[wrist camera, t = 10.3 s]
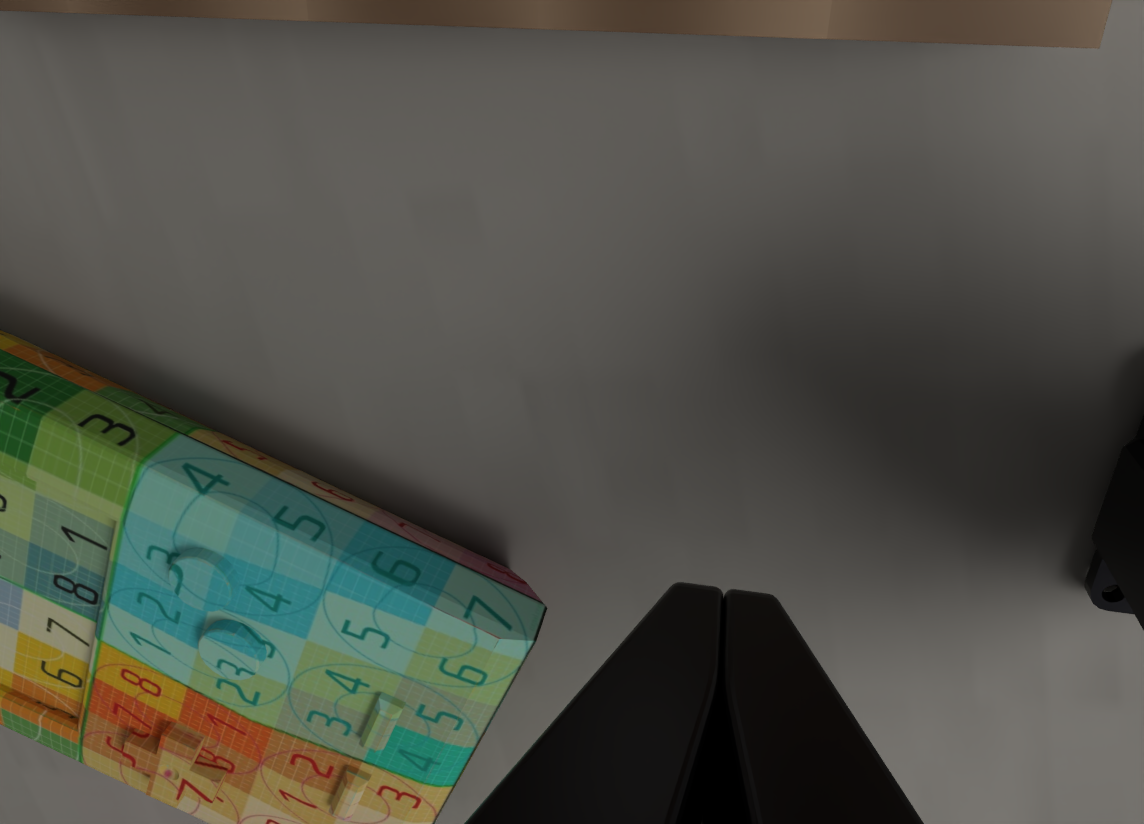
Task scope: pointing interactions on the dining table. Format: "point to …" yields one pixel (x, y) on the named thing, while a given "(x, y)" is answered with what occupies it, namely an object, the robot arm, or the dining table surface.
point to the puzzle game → (233, 616)
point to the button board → (672, 16)
